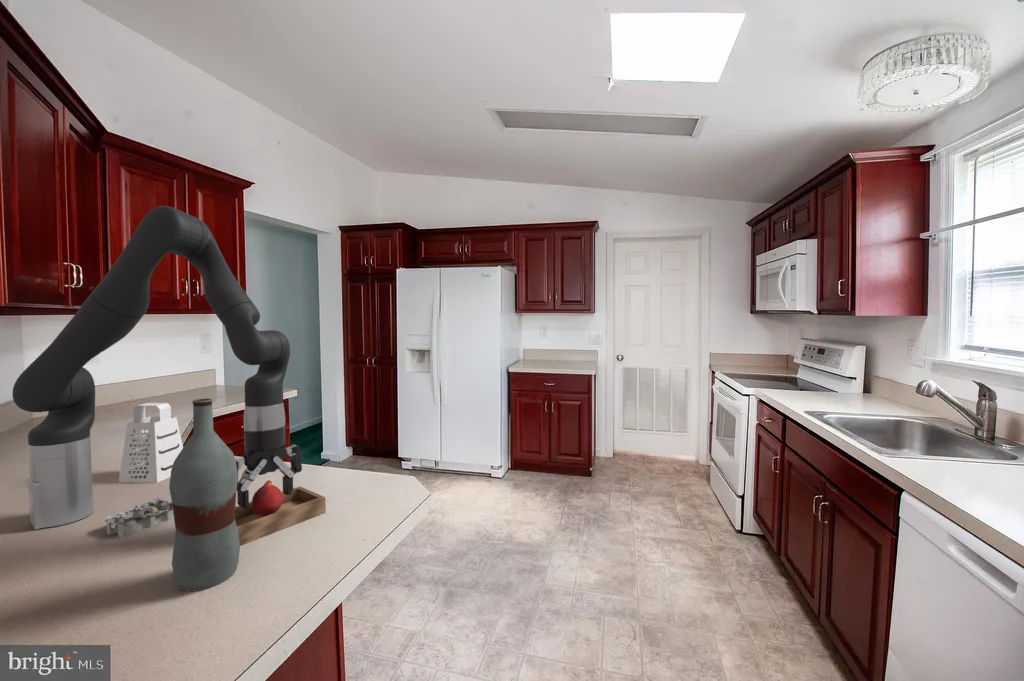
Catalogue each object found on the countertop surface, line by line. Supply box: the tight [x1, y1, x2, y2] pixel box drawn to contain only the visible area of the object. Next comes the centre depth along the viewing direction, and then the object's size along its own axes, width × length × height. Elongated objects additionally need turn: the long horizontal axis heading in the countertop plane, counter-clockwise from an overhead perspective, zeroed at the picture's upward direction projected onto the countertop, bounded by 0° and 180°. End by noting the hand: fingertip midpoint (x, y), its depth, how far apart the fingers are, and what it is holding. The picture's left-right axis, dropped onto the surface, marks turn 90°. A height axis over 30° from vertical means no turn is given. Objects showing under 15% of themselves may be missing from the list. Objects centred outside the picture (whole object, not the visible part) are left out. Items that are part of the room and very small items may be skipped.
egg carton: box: [102, 496, 174, 538], centre depth 90 cm, size 11×8×4 cm
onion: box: [251, 480, 283, 517], centre depth 91 cm, size 6×6×8 cm
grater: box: [118, 402, 184, 484], centre depth 119 cm, size 10×10×20 cm
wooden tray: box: [235, 486, 327, 546], centre depth 91 cm, size 20×11×4 cm, turn 144°
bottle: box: [168, 397, 241, 592], centre depth 71 cm, size 9×9×30 cm
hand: (266, 500), depth 91 cm, fingers open, 8 cm apart
